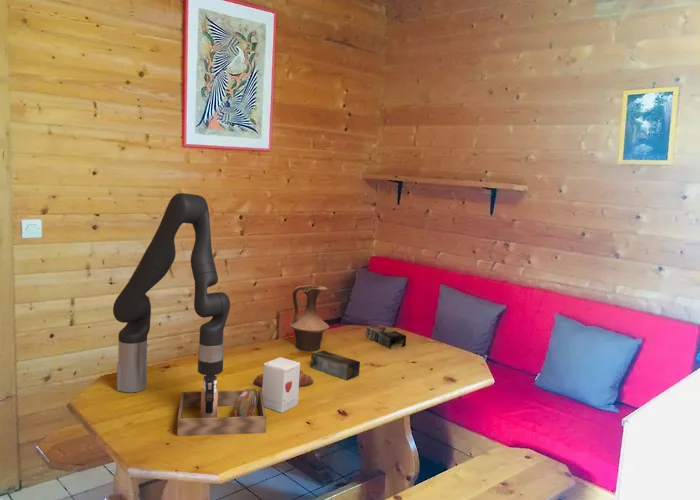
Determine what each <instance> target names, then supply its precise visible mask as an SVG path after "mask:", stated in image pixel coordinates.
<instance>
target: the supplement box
mask: <svg viewBox="0 0 700 500" xmlns="http://www.w3.org/2000/svg"><path fill="white" fill-rule="evenodd" d="M300 370H301V362H298V361H295V360H291V359H288V358H284V357H281V356H280V357H277V358H274V359H272V360H269V361H266V362H264V363H263V373H262V374H263V386H262V389H261V390H262V395H263V401H264V406H265V409H266V408H267V409H269V410H271V411H275V412H278V413H281V414H282V413H283V414H284V413H285V412H287V411H288V410H292V409H293V408H295V407H296V406H298V405H299V390H300V389H299V388H300V387H299V376H300Z"/></svg>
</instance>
